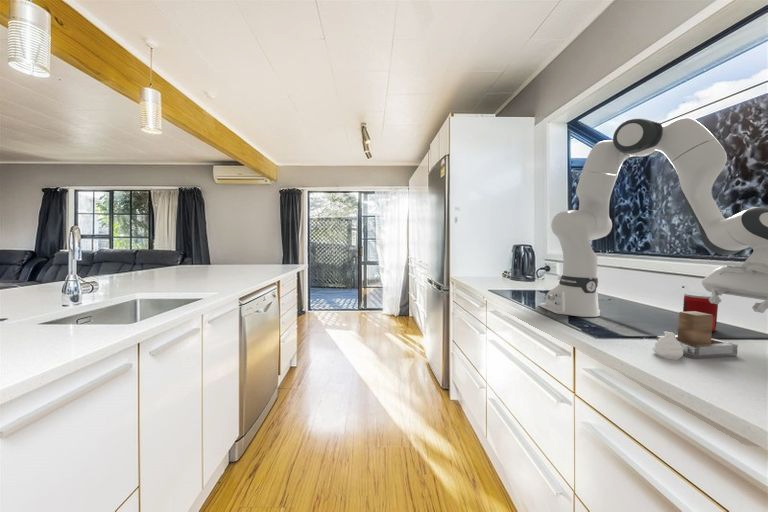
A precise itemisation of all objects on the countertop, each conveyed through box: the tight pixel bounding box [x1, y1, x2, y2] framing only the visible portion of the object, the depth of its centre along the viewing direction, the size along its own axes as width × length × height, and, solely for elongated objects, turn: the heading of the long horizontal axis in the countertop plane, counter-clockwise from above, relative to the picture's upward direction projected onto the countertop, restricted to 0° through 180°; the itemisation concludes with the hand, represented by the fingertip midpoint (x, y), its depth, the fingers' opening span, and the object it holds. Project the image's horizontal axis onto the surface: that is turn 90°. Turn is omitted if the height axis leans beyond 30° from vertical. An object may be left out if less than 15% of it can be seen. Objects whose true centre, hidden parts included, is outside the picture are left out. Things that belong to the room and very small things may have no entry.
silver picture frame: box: [656, 334, 739, 360], centre depth 84 cm, size 9×13×3 cm
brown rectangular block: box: [677, 311, 713, 345], centre depth 84 cm, size 4×5×9 cm
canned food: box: [682, 292, 719, 332], centre depth 106 cm, size 8×8×11 cm
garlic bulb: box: [652, 331, 684, 361], centre depth 80 cm, size 6×6×5 cm
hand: (733, 306), depth 86 cm, fingers open, 8 cm apart
